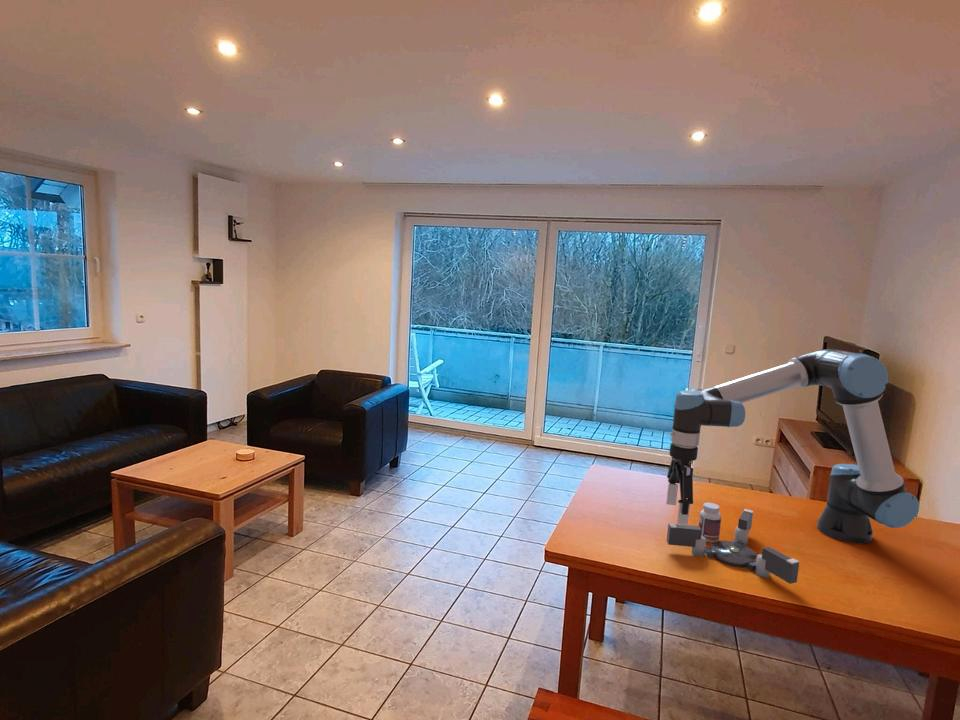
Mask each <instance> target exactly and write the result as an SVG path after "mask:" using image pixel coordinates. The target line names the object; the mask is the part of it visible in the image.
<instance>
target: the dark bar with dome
mask: <svg viewBox="0 0 960 720" xmlns="http://www.w3.org/2000/svg"><path fill="white" fill-rule="evenodd" d="M701 533H702V529H701V528H700V526H699V525H689V524H688V525H684V524H676V523H675V522H668V525H667V533H666V542H667V545H668V546H679V547H680V546H681V547H689V548H691V554H692V555H693V556H696V557H705V555H706V554H705V547H706V544H707V542H706V538H705V537H704V536H701Z"/></svg>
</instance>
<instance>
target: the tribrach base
mask: <svg viewBox="0 0 960 720" xmlns="http://www.w3.org/2000/svg"><path fill="white" fill-rule="evenodd" d="M704 555H706V557H708V558H714V559H716V560H717V561H718V562H721V563H722V564H725V565H727V566H731V567H735V568H744V569H745V568H746V569H747V570H749V571H750V572H755V571H756V563H757V553H756V552H755V550H753V549H752V548H750V547H749V546H745V544H744V543H741V542H737V541H734V540H733V541H731V540H718V541H716V542H714V543H711V547H710V546H705V554H704Z"/></svg>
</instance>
